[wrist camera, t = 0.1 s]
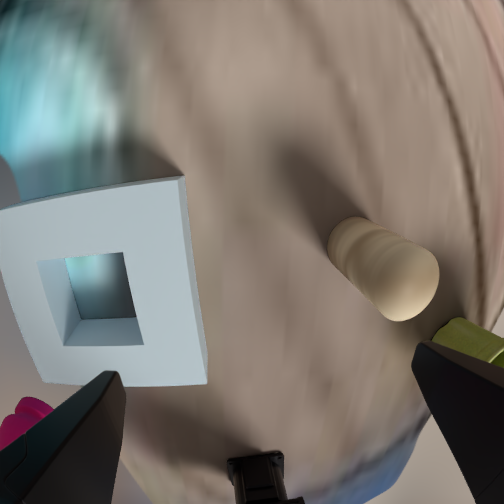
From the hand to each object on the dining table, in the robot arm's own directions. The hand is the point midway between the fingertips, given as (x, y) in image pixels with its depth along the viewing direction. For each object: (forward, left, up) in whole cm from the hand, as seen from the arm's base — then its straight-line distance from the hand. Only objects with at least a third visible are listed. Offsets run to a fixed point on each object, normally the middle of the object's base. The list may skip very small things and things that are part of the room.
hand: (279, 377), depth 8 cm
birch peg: (-1, -9, -15) cm, 17 cm away
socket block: (-2, +10, -15) cm, 18 cm away
